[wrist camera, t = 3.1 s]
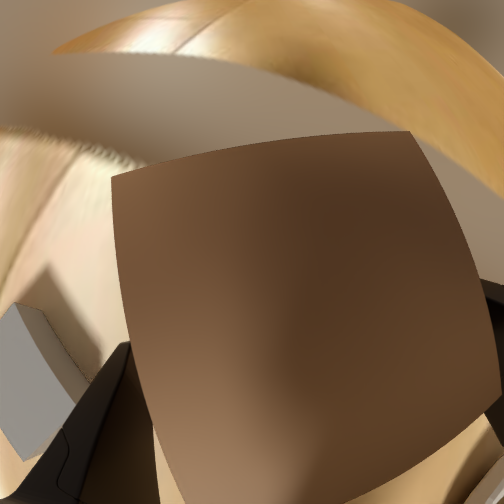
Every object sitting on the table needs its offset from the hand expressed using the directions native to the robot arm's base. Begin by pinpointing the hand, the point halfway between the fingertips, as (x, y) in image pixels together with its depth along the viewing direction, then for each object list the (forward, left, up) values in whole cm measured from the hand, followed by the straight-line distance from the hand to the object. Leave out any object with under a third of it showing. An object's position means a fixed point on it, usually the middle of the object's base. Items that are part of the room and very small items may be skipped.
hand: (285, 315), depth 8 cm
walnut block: (0, 0, -7) cm, 8 cm away
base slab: (-13, +7, -7) cm, 17 cm away
